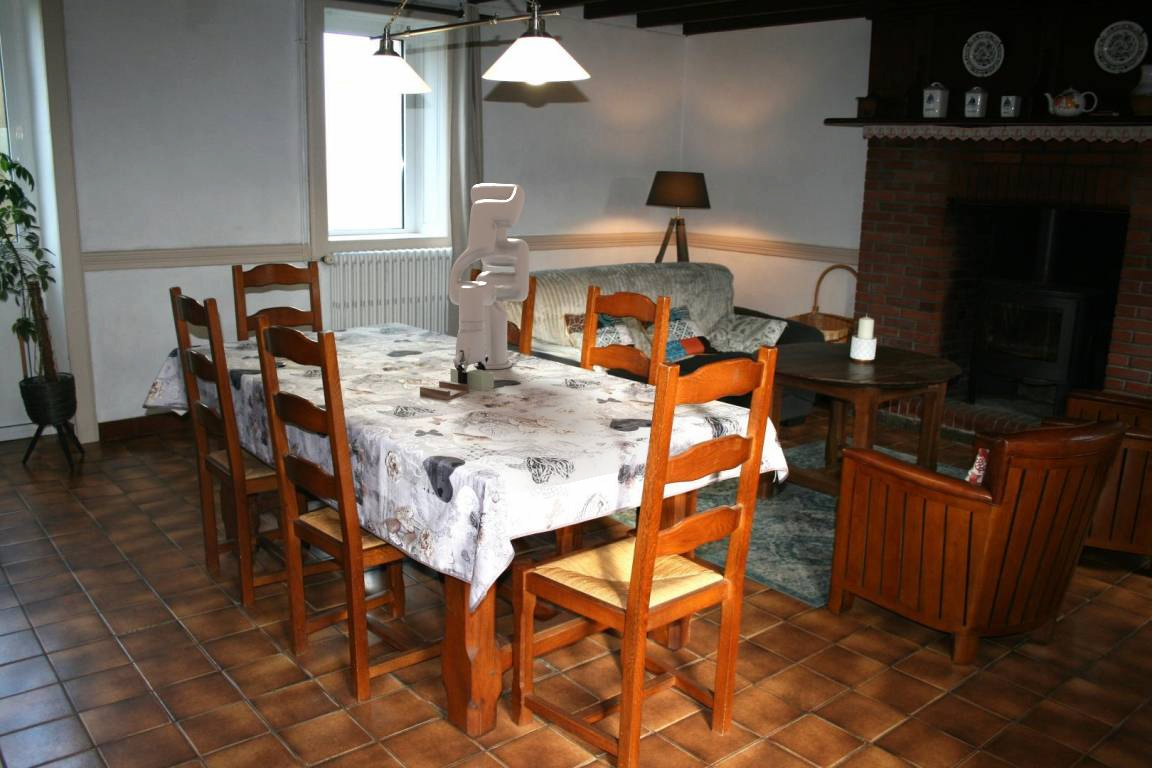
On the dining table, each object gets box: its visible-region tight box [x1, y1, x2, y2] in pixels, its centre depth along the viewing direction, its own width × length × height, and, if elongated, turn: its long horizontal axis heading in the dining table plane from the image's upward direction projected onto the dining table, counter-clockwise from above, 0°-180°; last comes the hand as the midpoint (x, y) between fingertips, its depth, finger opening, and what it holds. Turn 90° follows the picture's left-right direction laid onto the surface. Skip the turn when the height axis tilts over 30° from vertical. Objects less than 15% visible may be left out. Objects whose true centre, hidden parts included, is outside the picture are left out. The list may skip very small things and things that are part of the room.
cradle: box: [419, 380, 470, 401], centre depth 290 cm, size 10×10×2 cm
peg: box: [450, 365, 495, 392], centre depth 301 cm, size 5×14×5 cm, turn 48°
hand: (471, 381), depth 302 cm, fingers open, 8 cm apart
